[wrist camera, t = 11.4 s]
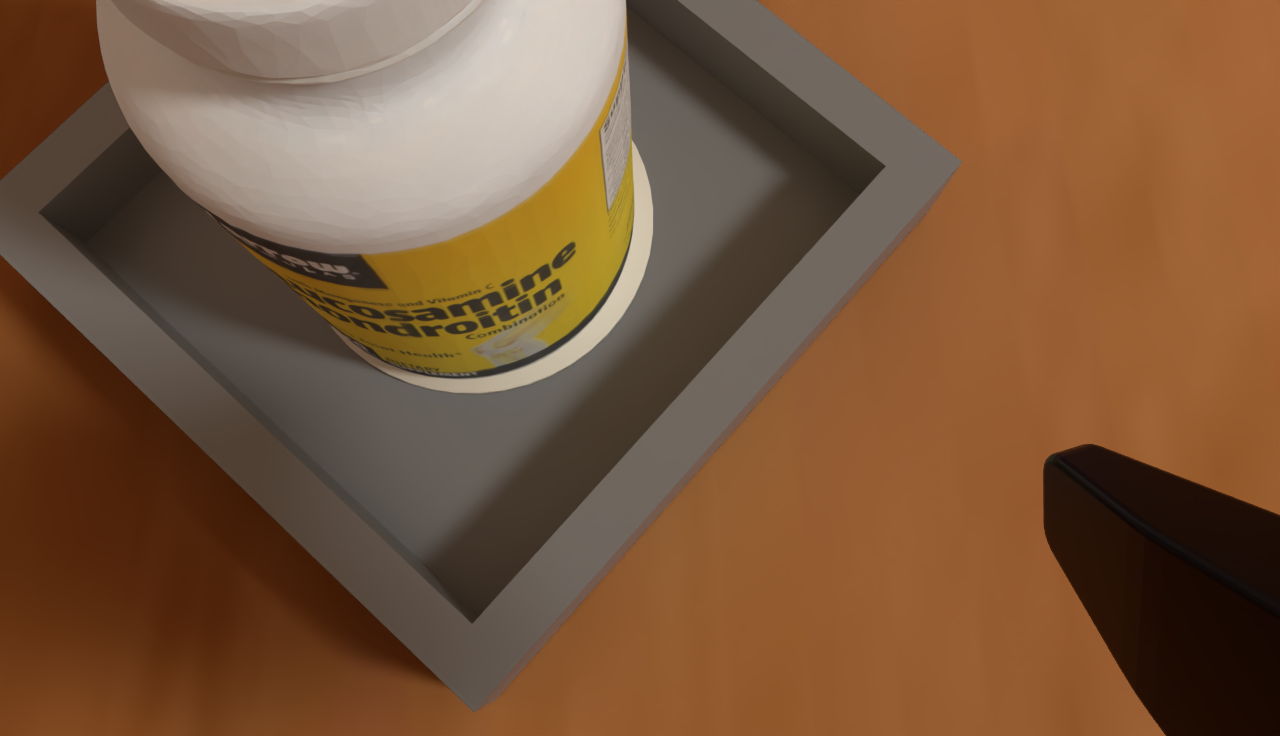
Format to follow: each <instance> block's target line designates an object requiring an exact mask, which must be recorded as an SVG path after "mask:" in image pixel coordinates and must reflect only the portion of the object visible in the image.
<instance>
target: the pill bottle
mask: <svg viewBox="0 0 1280 736" xmlns="http://www.w3.org/2000/svg"><path fill="white" fill-rule="evenodd" d="M96 11H97V29H98V35H99V42H100V49H101V55H102V58H103V62H104V66H105V70H106V73H107V76H108V79H109V82H110V85H111V88H112V90H113V93H114V95H115V97H116V100H117V102H118V104H119V106H120V108H121V110H122V112H123V115H124V117H125V119H126V121H127V123H128V125H129V126H130V128H131V129H132V131H133V132H134V134H135V135H136V137H137V138H138V140H139V141H140V143H141V144H142V146H143V147H144V149H145V150H146V151H147V153H148V154H149V155H150V156H151V157H152V158H153V160H154V161H155V162H156V163H157V164H158V165H159V167H160V168H161V169H162V170H163V171H164V172H165V173H166V174H167V175H168V176H169V177H170V178H171V179H172V180H173V181H174V182H175V184H176V185H177V186H178V187H179V188H180V189H181V191H182V192H184V193H185V194H186V195H187V196H188V197H190V198H191V199H192V200H193V201H194V202H196V203H197V204H198V205H199V206H200V207H201V208H202V209H203V210H204V211H205V212H207V213H208V214H209V215H210V216H211V217H213V218H214V219H215V220H216V221H217V222H218V223H219V224H220V225H221V226H222V227H223V228H224V229H225V230H226V231H228V232H229V233H230V234H231V235H232V236H233V237H234V238H235V239H236V240H237V241H238V242H240V243H241V244H242V245H243V246H244V247H245V248H246V249H247V250H248V251H249V252H250V253H252V254H253V255H254V256H255V257H256V258H257V259H258V260H259V261H261V262H262V263H263V264H264V265H265V266H266V267H267V268H268V269H269V270H270V271H272V272H273V273H274V274H275V275H276V276H277V277H278V278H280V279H281V280H282V281H283V282H284V283H286V284H287V285H288V286H289V287H290V288H291V289H292V290H293V291H294V292H295V293H296V294H298V295H299V296H300V297H301V298H302V299H303V300H304V301H305V302H306V303H307V304H309V305H310V306H311V307H312V308H313V309H314V310H315V311H317V312H318V313H319V314H320V315H321V316H322V317H323V318H324V319H325V320H326V321H327V322H328V323H329V324H330V325H331V326H332V327H334V328H335V329H336V330H338V331H339V332H340V333H341V334H342V335H344V336H345V337H346V338H347V339H348V340H350V341H351V342H352V343H354V344H355V345H356V346H358V347H359V348H360V349H362V350H363V351H365V352H366V353H368V354H370V355H372V356H373V357H375V358H377V359H379V360H381V361H383V362H385V363H387V364H389V365H392V366H394V367H396V368H399V369H401V370H405V371H408V372H411V373H415V374H419V375H423V376H428V377H435V378H443V379H477V378H485V377H492V376H497V375H502V374H505V373H509V372H512V371H515V370H519V369H522V368H524V367H527V366H529V365H532V364H534V363H536V362H538V361H540V360H542V359H544V358H546V357H548V356H549V355H551V354H553V353H554V352H556V351H558V350H559V349H560V348H562V347H563V346H564V345H566V344H567V343H568V342H570V341H571V340H572V339H574V338H575V337H576V336H577V335H578V334H579V333H580V332H581V331H582V330H583V329H584V328H585V327H586V326H587V325H588V324H589V323H590V322H591V321H592V320H593V319H594V318H595V317H596V315H597V314H598V313H599V312H600V311H601V309H602V308H603V306H604V305H605V303H606V302H607V301H608V299H609V297H610V295H611V293H612V292H613V290H614V288H615V286H616V285H617V283H618V280H619V278H620V276H621V273H622V271H623V269H624V266H625V263H626V260H627V256H628V253H629V249H630V244H631V239H632V234H633V223H634V182H633V161H632V131H631V101H630V80H629V62H628V39H627V13H626V0H96Z"/></svg>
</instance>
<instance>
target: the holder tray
mask: <svg viewBox="0 0 1280 736" xmlns="http://www.w3.org/2000/svg"><path fill="white" fill-rule="evenodd" d="M626 13H627V39H628V62H629V80H630V101H631V131H632V161H633V182H634V223H633V234H632V239H631V244H630V249H629V253H628V256H627V260H626V263H625V266H624V269H623V271H622V273H621V276H620V278H619V280H618V283H617V285H616V286H615V288H614V290H613V292H612V293H611V295H610V297H609V299H608V301H607V302H606V303H605V305H604V306H603V308H602V309H601V311H600V312H599V313H598V314H597V315H596V317H595V318H594V319H593V320H592V321H591V322H590V323H589V324H588V325H587V326H586V327H585V328H584V329H583V330H582V331H581V332H580V333H579V334H578V335H577V336H576V337H575V338H574V339H572V340H571V341H570V342H568V343H567V344H566V345H564V346H563V347H562V348H560V349H559V350H558V351H556V352H554V353H553V354H551V355H549V356H548V357H546V358H544V359H542V360H540V361H538V362H536V363H534V364H532V365H529V366H527V367H524V368H522V369H519V370H515V371H512V372H509V373H505V374H502V375H497V376H492V377H485V378H477V379H443V378H435V377H428V376H423V375H419V374H415V373H411V372H408V371H405V370H401V369H399V368H396V367H394V366H392V365H389V364H387V363H385V362H383V361H381V360H379V359H377V358H375V357H373V356H372V355H370V354H368V353H366V352H365V351H363V350H362V349H360V348H359V347H358V346H356V345H355V344H354V343H352V342H351V341H350V340H348V339H347V338H346V337H345V336H344V335H342V334H341V333H340V332H339V331H338V330H336V329H335V328H334V327H332V326H331V325H330V324H329V323H328V322H327V321H326V320H325V319H324V318H323V317H322V316H321V315H320V314H319V313H318V312H317V311H315V310H314V309H313V308H312V307H311V306H310V305H309V304H307V303H306V302H305V301H304V300H303V299H302V298H301V297H300V296H299V295H298V294H296V293H295V292H294V291H293V290H292V289H291V288H290V287H289V286H288V285H287V284H286V283H284V282H283V281H282V280H281V279H280V278H278V277H277V276H276V275H275V274H274V273H273V272H272V271H270V270H269V269H268V268H267V267H266V266H265V265H264V264H263V263H262V262H261V261H259V260H258V259H257V258H256V257H255V256H254V255H253V254H252V253H250V252H249V251H248V250H247V249H246V248H245V247H244V246H243V245H242V244H241V243H240V242H238V241H237V240H236V239H235V238H234V237H233V236H232V235H231V234H230V233H229V232H228V231H226V230H225V229H224V228H223V227H222V226H221V225H220V224H219V223H218V222H217V221H216V220H215V219H214V218H213V217H211V216H210V215H209V214H208V213H207V212H205V211H204V210H203V209H202V208H201V207H200V206H199V205H198V204H197V203H196V202H194V201H193V200H192V199H191V198H190V197H188V196H187V195H186V194H185V193H184V192H182V191H181V189H180V188H179V187H178V186H177V185H176V184H175V182H174V181H173V180H172V179H171V178H170V177H169V176H168V175H167V174H166V173H165V172H164V171H163V170H162V169H161V168H160V167H159V165H158V164H157V163H156V162H155V161H154V160H153V158H152V157H151V156H150V155H149V154H148V153H147V151H146V150H145V149H144V147H143V146H142V144H141V143H140V141H139V140H138V138H137V137H136V135H135V134H134V132H133V131H132V129H131V128H130V126H129V125H128V123H127V121H126V119H125V117H124V115H123V112H122V110H121V108H120V106H119V104H118V102H117V100H116V97H115V95H114V93H113V90H112V88H111V85H110V82H109V81H108V82H107V83H106V84H105V85H104V86H103V87H101V88H100V89H99V90H98V91H97V92H96V93H95V94H94V95H93V96H92V97H91V98H90V99H88V100H87V101H86V102H85V103H84V104H83V105H82V106H81V107H80V108H79V109H78V110H76V111H75V112H74V113H73V114H72V115H71V116H70V117H69V118H68V119H67V120H66V121H64V122H63V123H62V124H61V125H60V126H59V127H58V128H57V129H56V130H55V131H54V132H52V133H51V134H50V135H49V136H48V137H47V138H46V139H45V140H44V141H43V142H42V143H41V144H39V145H38V146H37V147H36V148H35V149H34V150H33V151H32V152H31V153H30V154H29V155H27V156H26V157H25V158H24V159H23V160H22V161H21V162H20V163H19V164H18V165H17V166H15V167H14V168H13V169H12V170H11V171H10V172H9V173H8V174H7V175H6V176H5V177H3V178H2V179H1V180H0V255H1V256H2V257H3V258H4V259H5V260H6V261H7V262H8V263H9V264H10V265H12V266H13V267H14V268H15V269H16V270H17V271H18V272H19V273H20V274H21V275H22V276H23V277H24V278H25V279H26V280H27V281H28V282H29V283H30V284H31V285H32V286H33V287H34V288H35V289H36V290H37V291H38V292H39V293H41V294H42V295H43V296H44V297H45V298H46V299H47V300H48V301H49V302H50V303H51V304H52V305H53V306H54V307H55V308H56V309H57V310H58V311H59V312H60V313H61V314H62V315H63V316H64V317H65V318H66V319H67V320H68V321H69V322H71V323H72V324H73V325H74V326H75V327H76V328H77V329H78V330H79V331H80V332H81V333H82V334H83V335H84V336H85V337H86V338H87V339H88V340H89V341H90V342H91V343H92V344H93V345H94V346H95V347H96V348H97V349H98V350H100V351H101V352H102V353H103V354H104V355H105V356H106V357H107V358H108V359H109V360H110V361H111V362H112V363H113V364H114V365H115V366H116V367H117V368H118V369H119V370H120V371H121V372H122V373H123V374H124V375H125V376H126V377H127V378H128V379H130V380H131V381H132V382H133V383H134V384H135V385H136V386H137V387H138V388H139V389H140V390H141V391H142V392H143V393H144V394H145V395H146V396H147V397H148V398H149V399H150V400H151V401H152V402H153V403H154V404H155V405H156V406H157V407H159V408H160V409H161V410H162V411H163V412H164V413H165V414H166V415H167V416H168V417H169V418H170V419H171V420H172V421H173V422H174V423H175V424H176V425H177V426H178V427H179V428H180V429H181V430H182V431H183V432H184V433H185V434H186V435H188V436H189V437H190V438H191V439H192V440H193V441H194V442H195V443H196V444H197V445H198V446H199V447H200V448H201V449H202V450H203V451H204V452H205V453H206V454H207V455H208V456H209V457H210V458H211V459H212V460H213V461H214V462H215V463H216V464H218V465H219V466H220V467H221V468H222V469H223V470H224V471H225V472H226V473H227V474H228V475H229V476H230V477H231V478H232V479H233V480H234V481H235V482H236V483H237V484H238V485H239V486H240V487H241V488H242V489H243V490H244V491H245V492H247V493H248V494H249V495H250V496H251V497H252V498H253V499H254V500H255V501H256V502H257V503H258V504H259V505H260V506H261V507H262V508H263V509H264V510H265V511H266V512H267V513H268V514H269V515H270V516H271V517H272V518H273V519H274V520H275V521H277V522H278V523H279V524H280V525H281V526H282V527H283V528H284V529H285V530H286V531H287V532H288V533H289V534H290V535H291V536H292V537H293V538H294V539H295V540H296V541H297V542H298V543H299V544H300V545H301V546H302V547H303V548H304V549H306V550H307V551H308V552H309V553H310V554H311V555H312V556H313V557H314V558H315V559H316V560H317V561H318V562H319V563H320V564H321V565H322V566H323V567H324V568H325V569H326V570H327V571H328V572H329V573H330V574H331V575H332V576H333V577H334V578H336V579H337V580H338V581H339V582H340V583H341V584H342V585H343V586H344V587H345V588H346V589H347V590H348V591H349V592H350V593H351V594H352V595H353V596H354V597H355V598H356V599H357V600H358V601H359V602H360V603H361V604H362V605H363V606H365V607H366V608H367V609H368V610H369V611H370V612H371V613H372V614H373V615H374V616H375V617H376V618H377V619H378V620H379V621H380V622H381V623H382V624H383V625H384V626H385V627H386V628H387V629H388V630H389V631H390V632H391V633H392V634H393V635H395V636H396V637H397V638H398V639H399V640H400V641H401V642H402V643H403V644H404V645H405V646H406V647H407V648H408V649H409V650H410V651H411V652H412V653H413V654H414V655H415V656H416V657H417V658H418V659H419V660H420V661H421V662H422V663H424V664H425V665H426V666H427V667H428V668H429V669H430V670H431V671H432V672H433V673H434V674H435V675H436V676H437V677H438V678H439V679H440V680H441V681H442V682H443V683H444V684H445V685H446V686H447V687H448V688H449V689H450V690H451V691H452V692H454V693H455V694H456V695H457V696H458V697H459V698H460V699H461V700H462V701H463V702H464V703H465V704H466V705H467V706H468V707H469V708H470V709H471V710H472V711H473V712H475V711H477V710H479V709H481V708H482V707H484V706H486V705H488V704H490V703H492V702H493V701H495V700H496V699H497V698H498V696H499V695H500V694H501V693H502V692H503V691H504V690H505V689H506V687H507V686H508V685H509V684H510V683H511V682H512V681H513V680H514V678H515V677H516V676H517V675H518V674H519V673H520V672H521V670H522V669H523V668H524V667H525V666H526V665H527V664H528V663H529V661H530V660H531V659H532V658H533V657H534V656H535V655H536V654H537V652H538V651H539V650H540V649H541V648H542V647H543V646H544V645H545V643H546V642H547V641H548V640H549V639H550V638H551V637H552V636H553V634H554V633H555V632H556V631H557V630H558V629H559V628H560V626H561V625H562V624H563V623H564V622H565V621H566V620H567V619H568V617H569V616H570V615H571V614H572V613H573V612H574V611H575V610H576V608H577V607H578V606H579V605H580V604H581V603H582V602H583V601H584V599H585V598H586V597H587V596H588V595H589V594H590V593H591V591H592V590H593V589H594V588H595V587H596V586H597V585H598V584H599V582H600V581H601V580H602V579H603V578H604V577H605V576H606V575H607V573H608V572H609V571H610V570H611V569H612V568H613V567H614V566H615V564H616V563H617V562H618V561H619V560H620V559H621V558H622V557H623V555H624V554H625V553H626V552H627V551H628V550H629V549H630V547H631V546H632V545H633V544H634V543H635V542H636V541H637V540H638V538H639V537H640V536H641V535H642V534H643V533H644V532H645V531H646V529H647V528H648V527H649V526H650V525H651V524H652V523H653V522H654V520H655V519H656V518H657V517H658V516H659V515H660V514H661V512H662V511H663V510H664V509H665V508H666V507H667V506H668V505H669V503H670V502H671V501H672V500H673V499H674V498H675V497H676V496H677V494H678V493H679V492H680V491H681V490H682V489H683V488H684V487H685V485H686V484H687V483H688V482H689V481H690V480H691V479H692V478H693V476H694V475H695V474H696V473H697V472H698V471H699V470H700V468H701V467H702V466H703V465H704V464H705V463H706V462H707V461H708V459H709V458H710V457H711V456H712V455H713V454H714V453H715V452H716V450H717V449H718V448H719V447H720V446H721V445H722V444H723V443H724V441H725V440H726V439H727V438H728V437H729V436H730V435H731V433H732V432H733V431H734V430H735V429H736V428H737V427H738V426H739V424H740V423H741V422H742V421H743V420H744V419H745V418H746V417H747V415H748V414H749V413H750V412H751V411H752V410H753V409H754V408H755V406H756V405H757V404H758V403H759V402H760V401H761V400H762V399H763V397H764V396H765V395H766V394H767V393H768V392H769V391H770V389H771V388H772V387H773V386H774V385H775V384H776V383H777V382H778V380H779V379H780V378H781V377H782V376H783V375H784V374H785V373H786V371H787V370H788V369H789V368H790V367H791V366H792V365H793V364H794V362H795V361H796V360H797V359H798V358H799V357H800V356H801V354H802V353H803V352H804V351H805V350H806V349H807V348H808V347H809V345H810V344H811V343H812V342H813V341H814V340H815V339H816V338H817V336H818V335H819V334H820V333H821V332H822V331H823V330H824V329H825V327H826V326H827V325H828V324H829V323H830V322H831V321H832V320H833V318H834V317H835V316H836V315H837V314H838V313H839V312H840V310H841V309H842V308H843V307H844V306H845V305H846V304H847V303H848V301H849V300H850V299H851V298H852V297H853V296H854V295H855V294H856V292H857V291H858V290H859V289H860V288H861V287H862V286H863V285H864V283H865V282H866V281H867V280H868V279H869V278H870V277H871V275H872V274H873V273H874V272H875V271H876V270H877V269H878V268H879V266H880V265H881V264H882V263H883V262H884V261H885V260H886V259H887V257H888V256H889V255H890V254H891V253H892V252H893V251H894V250H895V248H896V247H897V246H898V245H899V244H900V243H901V242H902V241H903V239H904V238H905V237H906V236H907V235H908V234H909V233H910V231H911V230H912V229H913V228H914V227H915V226H916V225H917V224H918V222H919V221H920V220H921V219H922V218H923V217H924V216H925V215H926V213H927V212H928V211H929V210H930V208H931V207H932V205H933V204H934V202H935V201H936V200H937V198H938V197H939V195H940V194H941V192H942V191H943V189H944V188H945V187H946V185H947V184H948V182H949V181H950V179H951V178H952V176H953V175H954V174H955V172H956V171H957V169H958V168H959V166H960V165H961V163H962V161H961V160H959V159H958V158H957V157H956V156H954V155H953V154H952V153H950V152H949V151H948V150H947V149H945V148H944V147H943V146H942V145H940V144H939V143H938V142H936V141H935V140H934V139H933V138H931V137H930V136H929V135H928V134H926V133H925V132H924V131H922V130H921V129H920V128H919V127H917V126H916V125H915V124H913V123H912V122H911V121H910V120H908V119H907V118H906V117H905V116H903V115H902V114H901V113H899V112H898V111H897V110H896V109H894V108H893V107H892V106H891V105H889V104H888V103H887V102H885V101H884V100H883V99H882V98H880V97H879V96H878V95H877V94H875V93H874V92H873V91H871V90H870V89H869V88H868V87H866V86H865V85H864V84H862V83H861V82H860V81H859V80H857V79H856V78H855V77H854V76H852V75H851V74H850V73H848V72H847V71H846V70H845V69H843V68H842V67H841V66H840V65H838V64H837V63H836V62H834V61H833V60H832V59H831V58H829V57H828V56H827V55H825V54H824V53H823V52H822V51H820V50H819V49H818V48H817V47H815V46H814V45H813V44H811V43H810V42H809V41H808V40H806V39H805V38H804V37H803V36H801V35H800V34H799V33H797V32H796V31H795V30H794V29H792V28H791V27H790V26H789V25H787V24H786V23H785V22H783V21H782V20H781V19H780V18H778V17H777V16H776V15H774V14H773V13H772V12H771V11H769V10H768V9H767V8H766V7H764V6H763V5H762V4H760V3H759V2H758V1H757V0H626Z"/></svg>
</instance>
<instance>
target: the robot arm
mask: <svg viewBox="0 0 1280 736" xmlns="http://www.w3.org/2000/svg"><path fill="white" fill-rule="evenodd" d="M1043 507H1044V530H1045V535H1046V538H1047V541H1048V544H1049V546H1050V549H1051V551H1052V552H1053V554H1054V556H1055V558H1056V559H1057V561H1058V563H1059V565H1060V566H1061V568H1062V570H1063V571H1064V573H1065V575H1066V577H1067V578H1068V580H1069V582H1070V583H1071V585H1072V587H1073V589H1074V590H1075V592H1076V594H1077V595H1078V597H1079V599H1080V601H1081V602H1082V604H1083V606H1084V607H1085V609H1086V611H1087V613H1088V614H1089V616H1090V618H1091V619H1092V621H1093V623H1094V625H1095V626H1096V628H1097V630H1098V631H1099V633H1100V635H1101V637H1102V638H1103V640H1104V642H1105V643H1106V645H1107V647H1108V649H1109V650H1110V652H1111V654H1112V655H1113V657H1114V659H1115V661H1116V662H1117V664H1118V666H1119V667H1120V669H1121V671H1122V672H1123V674H1124V676H1125V677H1126V679H1127V680H1128V682H1129V684H1130V685H1131V687H1132V689H1133V690H1134V692H1135V693H1136V695H1137V696H1138V698H1139V699H1140V700H1141V702H1142V703H1143V705H1144V706H1145V708H1146V709H1147V710H1148V712H1149V713H1150V715H1151V716H1152V717H1153V719H1154V720H1155V722H1156V723H1157V724H1158V726H1159V727H1160V728H1161V730H1162V731H1163V732H1164V734H1165V735H1166V736H1280V515H1278V514H1276V513H1273V512H1271V511H1268V510H1265V509H1263V508H1260V507H1258V506H1255V505H1252V504H1250V503H1247V502H1245V501H1242V500H1239V499H1237V498H1234V497H1231V496H1229V495H1226V494H1224V493H1221V492H1218V491H1216V490H1213V489H1211V488H1208V487H1205V486H1203V485H1200V484H1198V483H1195V482H1192V481H1190V480H1187V479H1185V478H1182V477H1179V476H1177V475H1174V474H1171V473H1169V472H1166V471H1164V470H1161V469H1158V468H1156V467H1153V466H1151V465H1148V464H1145V463H1143V462H1140V461H1138V460H1135V459H1132V458H1130V457H1127V456H1125V455H1122V454H1119V453H1117V452H1114V451H1111V450H1109V449H1106V448H1104V447H1101V446H1098V445H1094V444H1084V445H1080V446H1077V447H1074V448H1070V449H1067V450H1064V451H1060V452H1057V453H1054V454H1052V455H1050V456H1049V457H1048V458H1047V459H1046V461H1045V464H1044V470H1043Z"/></svg>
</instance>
